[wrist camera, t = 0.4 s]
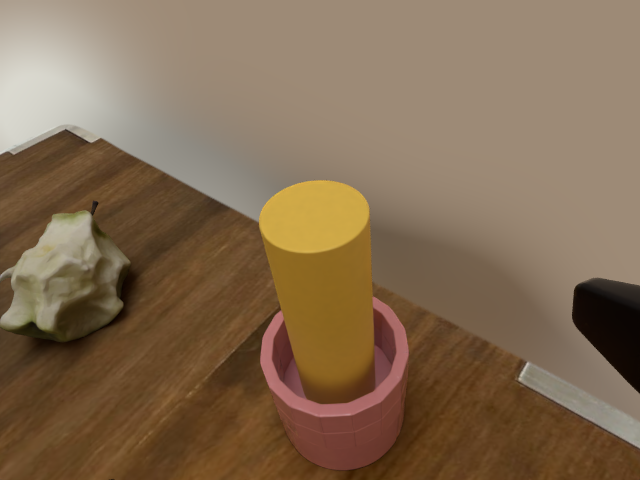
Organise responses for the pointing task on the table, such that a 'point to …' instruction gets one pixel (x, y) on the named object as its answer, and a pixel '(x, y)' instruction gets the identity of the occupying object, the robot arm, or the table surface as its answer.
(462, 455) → the table surface
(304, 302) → the yellow cylinder
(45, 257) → the fruit
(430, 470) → the table surface
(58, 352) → the table surface
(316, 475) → the table surface
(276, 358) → the pot
